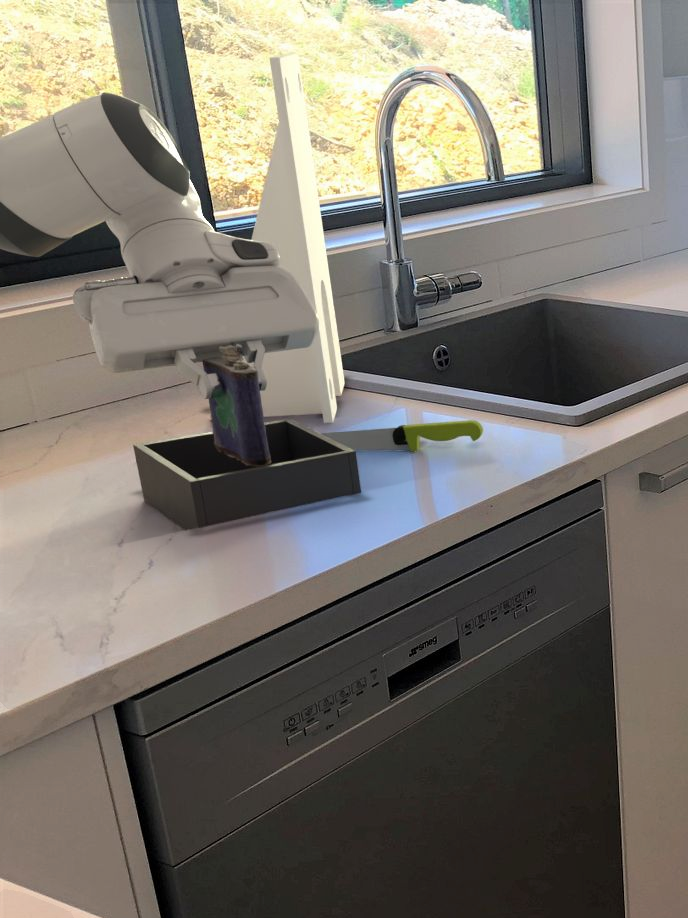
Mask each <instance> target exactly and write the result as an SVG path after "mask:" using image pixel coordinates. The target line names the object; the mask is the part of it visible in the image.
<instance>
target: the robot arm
mask: <svg viewBox="0 0 688 918" xmlns="http://www.w3.org/2000/svg"><path fill="white" fill-rule="evenodd" d="M190 176H191V175H190V170H189V167H188V165H187V163H186V160H185V159H184V157H183V155H182V153H181V151H180V148H179V146H178V145H177V142H176V141H175V138H174V137H173V136H172V133H170V131H169V129H168V128H167V126H166V125H165V124H164V122H163V121H162V120H161V119H160V118H159V117H158V116H157V114H156V113H154V112H153V111H152V110H151V109H150V108H149V107H148V106H146V105H144V104H141V103H140V102H137V101H135V100H133V99H130V98H128V97H125V96H123V95H119V94H116V93H111V92H106V91H105V92H102V93H100V94H99V93H98V94H96V95H95V94H94V95H92V96H90V97H88V98H87V97H86V98H85V99H83V100H81V101H78V102H76V103H73V104H71V105H69V106H67V107H64V108H62V109H60V110H57V111H55V112H54V113H53V114H51V115H49V116H46V117H45V118H42V119H40V120H38V121H35V122H34V123H31V124H29V125H26V126H24V127H23V128H20V129H18V130H16V131H13V132H11V133H9V134H7V135H4V136H0V250H3V251H6V252H8V253H13V254H17V255H22V256H27V257H34V258H39V257H42V256H43V255H45V254H46V253H48V252H50V251H51V250H54V249H55V248H57V247H59V246H60V245H62V244H64V243H66V242H67V241H69V240H71V239H72V238H73V237H74V236H75V235H77V234H80V233H82V232H85V231H86V230H87V231H88V229H91V228H94V227H95V226H98V225H100V224H101V223H104V222H105V224H106V225H107V226H108V228H109V231H111V232H112V234H113V235H114V236H115V237H116V238H117V240H118V241H119V245H120V254H121V258H122V260H123V263H124V264H125V267H126V269H127V271H128V273H129V276H125V277H117V278H112V279H106V280H99V279H97V280H96V279H94V280H89V281H88V280H87V281H86V282H84V283H83V285H82V286H80V287H78V288H77V289H75V291H74V292H73V294H72V302H73V305H74V306H75V309H76V312H77V313H78V315H79V316H80V318H81V319H82V320H83V321H84V322H86V323H88V325H89V332H90V336H91V339H92V344H93V347H94V351H95V354H96V357H97V359H98V362H99V364H100V366H101V367H103V368H104V369H105V370H107V371H108V372H110V373H112V374H124V373H130V372H138V371H139V372H140V371H144V370H145V371H146V370H151V369H152V370H153V369H160V368H167V367H174V366H175V368H176V370H177V372H178V374H179V375H180V376H182V377H183V378H185V379H186V380H188V381H189V382H190V383H192V384H193V385H195V386H196V387H198V389H199V391H200V393H201V395H202V397H203V400H209V399H210V398H217V397H221V393H222V391H223V388H222V385H221V383H220V382H219V381H218V380H219V378H218V376H217V374H216V373H212V374H207V373H206V372H205V371H204V369H203V368H202V367H200V366H198V365H197V363H203V362H202V361H203V359H208V358H211V357H222V356H223V354H224V353H222V352H221V351H220V349H219V347H226V346H229V345H231V346H234V347H236V345H237V344H239V345H241V346H242V348H239V347H238V348H237V353H238V354H239V355H241V356H244V357H245V359H246V361H247V363H252V362H253V363H254V364H253V368H255V369H256V370H257V372H258V379H259V389H260V391H263V390H265V389H266V386H267V380H266V377H265V375H264V373H263V371H262V369H261V367H262V363H263V358H264V353H270V352H278V351H285V350H292V349H300V348H307V347H309V346H311V344H312V343H313V341H314V339H315V336H316V334H317V331H318V327H319V319H318V316H317V314H316V312H315V310H314V308H313V306H312V304H311V302H310V300H309V298H308V297H307V295H306V293H305V292H304V290H303V288H302V287H301V285H300V284H299V282H298V281H297V280H296V278H295V277H294V276H293V275H292V274H291V273H290V272H288V271H287V270H285V269H284V268H281V267H278V266H279V254H278V251H277V249H276V248H275V247H274V246H273V245H272V244H269V243H265V242H259V241H253V240H251V239H245V238H241V237H236V236H232V235H227V234H225V233H220V232H217V231H215V229H214V228H213V226H212V225H211V224H210V223H209V221H207V220H206V218H205V217H204V216H203V212H202V205H201V200H200V197H199V195H198V193H197V190H196V189H195V187H194V185H193V183H192V181H191V179H190Z"/></svg>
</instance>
